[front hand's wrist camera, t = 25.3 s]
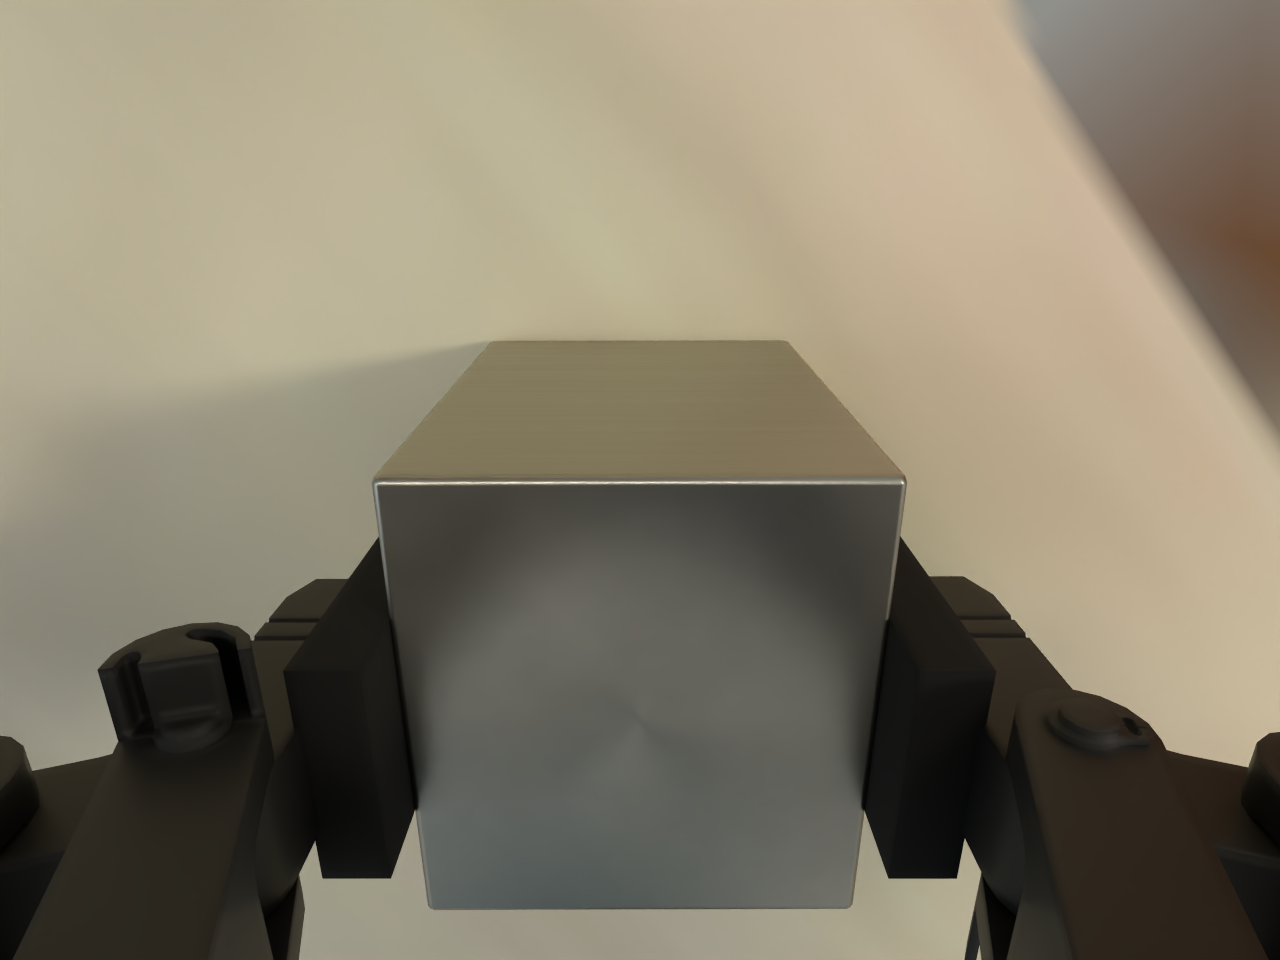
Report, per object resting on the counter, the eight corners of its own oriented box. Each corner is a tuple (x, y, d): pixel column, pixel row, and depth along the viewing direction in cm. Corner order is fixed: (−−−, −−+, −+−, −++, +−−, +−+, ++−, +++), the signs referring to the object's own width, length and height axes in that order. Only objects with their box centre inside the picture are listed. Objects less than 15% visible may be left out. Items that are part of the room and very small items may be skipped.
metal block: (788, 339, 15) (911, 476, 8) (770, 622, 17) (853, 912, 10) (489, 340, 15) (368, 478, 8) (509, 622, 17) (426, 912, 10)
